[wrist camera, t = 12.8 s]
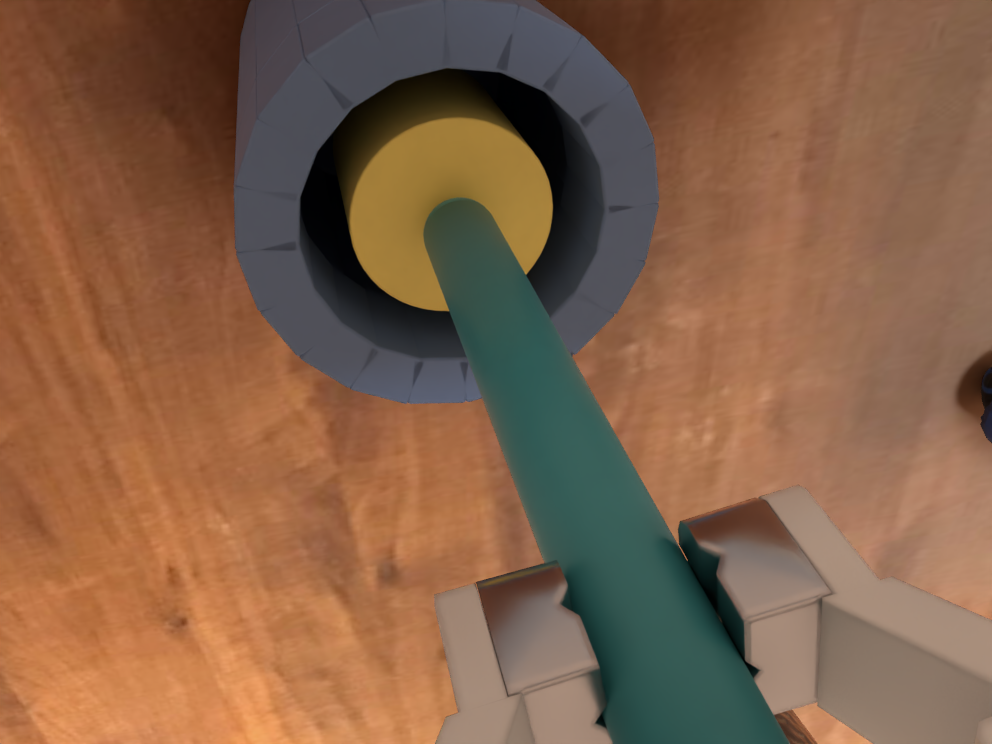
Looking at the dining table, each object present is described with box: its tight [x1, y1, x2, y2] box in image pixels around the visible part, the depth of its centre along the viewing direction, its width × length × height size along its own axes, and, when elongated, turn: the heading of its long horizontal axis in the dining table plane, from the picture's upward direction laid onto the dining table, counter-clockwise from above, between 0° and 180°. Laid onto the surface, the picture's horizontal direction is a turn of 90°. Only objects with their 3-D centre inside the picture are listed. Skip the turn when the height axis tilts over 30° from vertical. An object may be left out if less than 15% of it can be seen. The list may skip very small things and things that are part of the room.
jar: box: [234, 0, 659, 404], centre depth 25 cm, size 9×9×14 cm
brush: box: [333, 68, 790, 744], centre depth 16 cm, size 5×5×21 cm
